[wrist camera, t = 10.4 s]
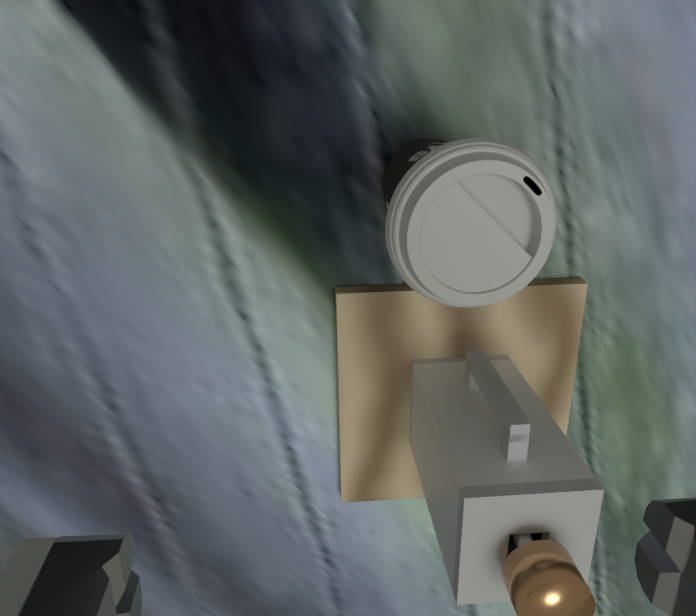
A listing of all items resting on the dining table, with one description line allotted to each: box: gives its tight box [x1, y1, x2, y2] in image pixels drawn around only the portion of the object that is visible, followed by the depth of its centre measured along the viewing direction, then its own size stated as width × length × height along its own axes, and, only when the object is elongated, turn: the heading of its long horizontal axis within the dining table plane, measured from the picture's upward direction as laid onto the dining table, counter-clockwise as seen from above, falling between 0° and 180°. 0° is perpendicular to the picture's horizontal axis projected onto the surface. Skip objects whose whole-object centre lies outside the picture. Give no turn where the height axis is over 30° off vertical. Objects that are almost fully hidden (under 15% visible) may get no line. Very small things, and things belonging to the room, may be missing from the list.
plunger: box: [502, 533, 595, 616], centre depth 41 cm, size 6×6×20 cm
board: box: [335, 277, 588, 503], centre depth 52 cm, size 20×20×2 cm
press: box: [409, 350, 604, 605], centre depth 43 cm, size 8×11×17 cm
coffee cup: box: [383, 138, 557, 308], centre depth 39 cm, size 10×10×15 cm
